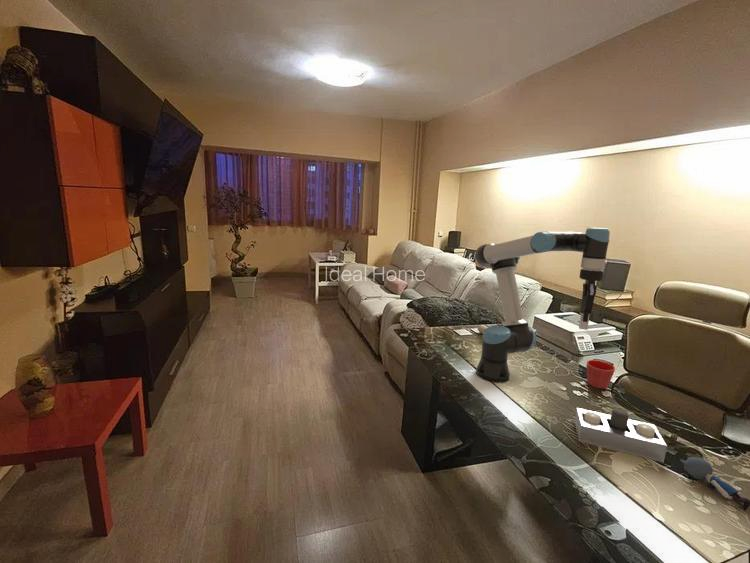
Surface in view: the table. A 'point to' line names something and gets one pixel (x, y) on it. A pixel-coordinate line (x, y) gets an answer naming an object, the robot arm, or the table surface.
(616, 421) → the knob mid
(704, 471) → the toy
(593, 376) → the flower pot
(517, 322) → the robot arm
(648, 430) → the knob
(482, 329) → the carnation
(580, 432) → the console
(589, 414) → the knob
